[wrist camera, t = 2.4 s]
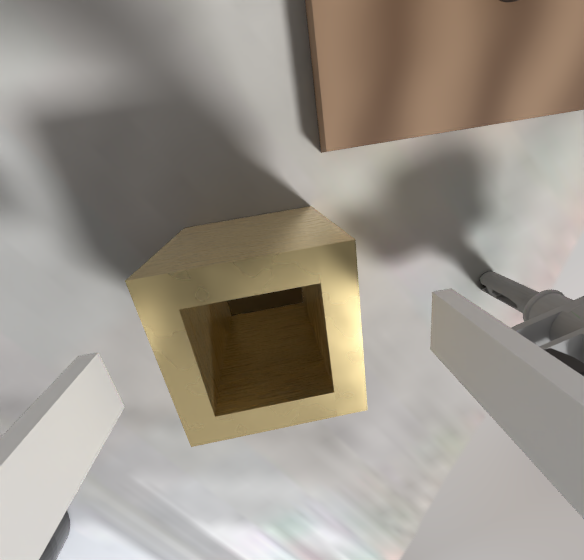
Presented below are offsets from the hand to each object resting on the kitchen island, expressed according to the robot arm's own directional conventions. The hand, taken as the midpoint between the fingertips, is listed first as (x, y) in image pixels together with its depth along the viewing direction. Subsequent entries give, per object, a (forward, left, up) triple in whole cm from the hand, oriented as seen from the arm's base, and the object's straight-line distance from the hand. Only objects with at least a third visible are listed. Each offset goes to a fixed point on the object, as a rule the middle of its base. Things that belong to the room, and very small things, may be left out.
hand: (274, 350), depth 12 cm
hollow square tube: (0, 0, -9) cm, 9 cm away
